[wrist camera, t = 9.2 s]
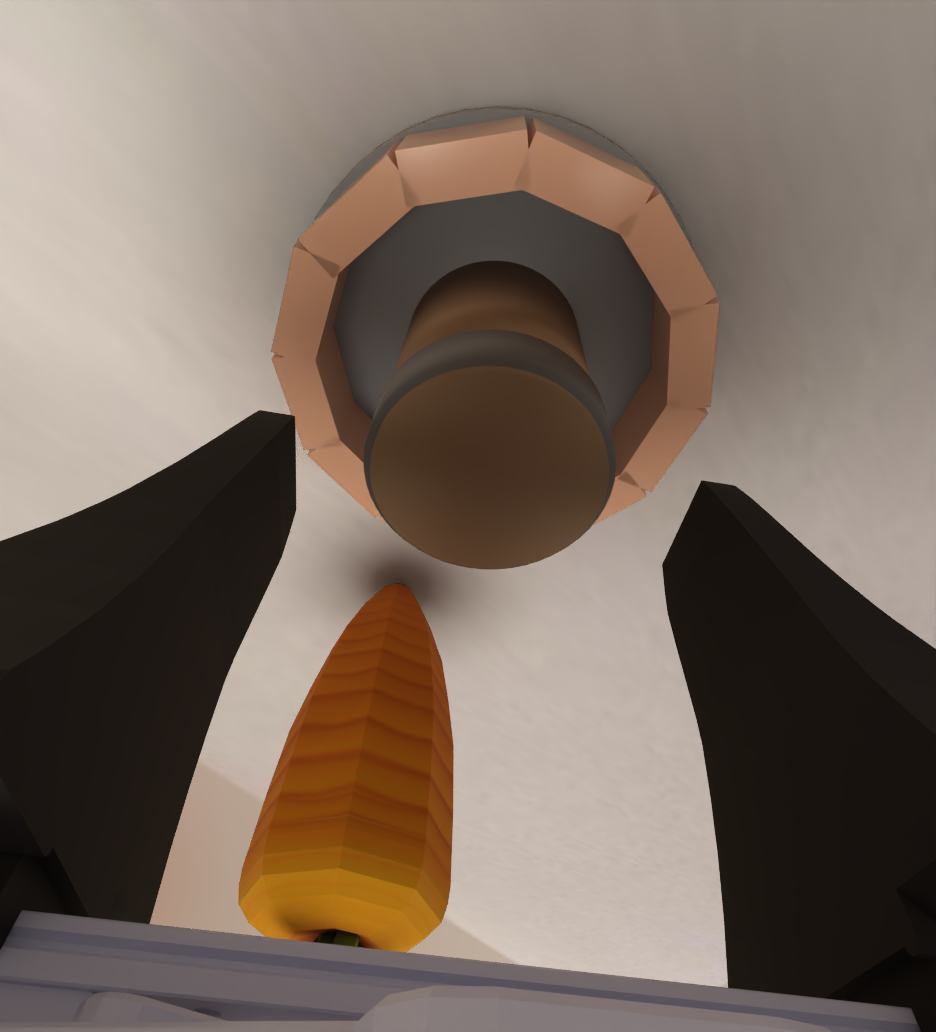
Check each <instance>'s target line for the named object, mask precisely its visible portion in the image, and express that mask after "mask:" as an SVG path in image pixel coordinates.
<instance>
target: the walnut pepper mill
mask: <svg viewBox="0 0 936 1032" xmlns="http://www.w3.org/2000/svg"><path fill="white" fill-rule="evenodd" d="M364 474H365V480H366V485H367V488H368V491H369V494H370V497H371V499H372V501H373V503H374V505H375V507H376V509H377V510H378V512H379V513H380V514H381V516H382V517H383V519H384V520H385V521H386V522H387V524H388V525H389V526H390V527H391V528H392V529H393V530H394V531H395V532H396V533H397V534H398V535H399V536H401V537H402V538H403V539H404V540H406V541H407V542H408V543H410V544H411V545H413V546H414V547H416V548H417V549H419V550H420V551H422V552H424V553H426V554H428V555H430V556H432V557H434V558H437V559H439V560H441V561H444V562H447V563H451V564H454V565H458V566H463V567H468V568H477V569H505V568H514V567H519V566H524V565H528V564H531V563H534V562H537V561H540V560H542V559H545V558H547V557H549V556H552V555H554V554H555V553H557V552H559V551H561V550H562V549H564V548H566V547H568V546H569V545H570V544H572V543H573V542H575V541H576V540H577V539H579V538H580V537H581V536H582V535H583V534H584V533H585V532H586V531H587V530H588V529H589V528H590V527H591V526H592V525H593V524H594V522H595V521H596V520H597V519H598V518H599V516H600V514H601V513H602V511H603V510H604V508H605V506H606V504H607V502H608V500H609V497H610V495H611V492H612V489H613V485H614V481H615V474H616V452H615V447H614V442H613V438H612V434H611V430H610V426H609V422H608V418H607V414H606V410H605V406H604V403H603V401H602V398H601V396H600V393H599V391H598V389H597V388H596V386H595V384H594V382H593V381H592V379H591V378H590V377H589V373H588V368H587V364H586V360H585V355H584V351H583V347H582V342H581V338H580V334H579V329H578V325H577V321H576V318H575V315H574V312H573V310H572V308H571V306H570V304H569V302H568V300H567V299H566V297H565V296H564V295H563V293H562V292H561V291H560V289H559V288H558V287H557V286H556V285H555V284H554V283H553V282H552V281H550V280H549V279H548V278H546V277H545V276H544V275H542V274H541V273H539V272H537V271H535V270H533V269H531V268H529V267H526V266H524V265H521V264H517V263H513V262H508V261H498V260H494V261H481V262H475V263H471V264H468V265H465V266H461V267H459V268H457V269H455V270H453V271H451V272H449V273H448V274H446V275H445V276H443V277H442V278H440V279H439V280H438V281H437V282H436V283H434V284H433V285H432V286H431V287H430V288H429V290H428V291H427V292H426V293H425V294H424V296H423V297H422V299H421V300H420V302H419V303H418V305H417V307H416V309H415V311H414V313H413V317H412V320H411V323H410V326H409V329H408V333H407V336H406V339H405V343H404V346H403V349H402V353H401V356H400V359H399V362H398V366H397V369H396V371H395V372H394V374H393V375H392V377H391V378H390V380H389V381H388V383H387V384H386V386H385V388H384V390H383V392H382V394H381V396H380V399H379V402H378V405H377V408H376V411H375V414H374V417H373V420H372V423H371V426H370V429H369V433H368V436H367V439H366V442H365V449H364Z"/></svg>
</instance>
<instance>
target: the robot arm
mask: <svg viewBox="0 0 936 1032" xmlns="http://www.w3.org/2000/svg"><path fill="white" fill-rule="evenodd" d="M295 512H296V447H295V416H292V415H286V414H280V413H273V412H267V411H261V410H259V411H257V412H256V413H254V414H252V415H251V416H249V417H247V418H246V419H244V420H243V421H241V422H239V423H238V424H236V425H235V426H233V427H232V428H230V429H229V430H227V431H226V432H224V433H223V434H221V435H219V436H218V437H216V438H215V439H213V440H212V441H210V442H208V443H207V444H205V445H204V446H202V447H200V448H199V449H197V450H196V451H194V452H192V453H191V454H189V455H188V456H186V457H184V458H183V459H181V460H179V461H178V462H176V463H174V464H172V465H171V466H169V467H167V468H165V469H163V470H162V471H160V472H158V473H156V474H154V475H152V476H151V477H149V478H147V479H145V480H143V481H142V482H140V483H138V484H136V485H134V486H133V487H131V488H129V489H127V490H125V491H123V492H121V493H119V494H117V495H115V496H113V497H111V498H108V499H106V500H104V501H102V502H100V503H98V504H95V505H93V506H91V507H88V508H86V509H84V510H82V511H79V512H77V513H75V514H72V515H70V516H68V517H65V518H63V519H60V520H58V521H55V522H53V523H50V524H47V525H44V526H41V527H39V528H36V529H33V530H30V531H28V532H25V533H22V534H19V535H16V536H14V537H11V538H8V539H5V540H2V541H0V1032H936V649H935V648H933V647H932V646H930V645H929V644H928V643H926V642H925V641H923V640H922V639H921V638H919V637H918V636H916V635H915V634H913V633H912V632H911V631H909V630H908V629H906V628H905V627H904V626H902V625H901V624H899V623H898V622H896V621H895V620H894V619H892V618H891V617H890V616H888V615H887V614H886V613H884V612H883V611H882V610H880V609H879V608H878V607H876V606H875V605H874V604H873V603H871V602H870V601H869V600H868V599H866V598H865V597H864V596H863V595H862V594H860V593H859V592H858V591H857V590H855V589H854V588H853V587H852V586H850V585H849V584H848V583H847V582H845V581H844V580H843V579H842V578H841V577H839V576H838V575H837V574H836V573H835V572H834V571H832V570H831V569H830V568H829V567H828V566H827V565H825V564H824V563H823V562H822V561H821V560H820V559H819V558H817V557H816V556H815V555H814V554H813V553H812V552H811V551H810V550H808V549H807V548H806V547H805V546H804V545H803V544H802V543H801V542H800V541H798V540H797V539H796V538H795V537H794V536H793V535H792V534H791V533H790V532H788V531H787V530H786V529H785V528H784V527H783V526H782V525H781V524H780V523H779V522H777V521H776V520H775V519H774V518H773V517H772V516H771V515H770V514H769V513H767V512H766V511H765V510H764V509H763V508H762V507H761V506H760V505H758V504H757V503H756V502H755V501H754V500H753V499H751V498H750V497H749V496H748V495H747V494H745V493H744V492H743V491H741V490H740V489H739V488H737V487H736V486H733V485H727V484H721V483H714V482H708V481H701V483H700V485H699V487H698V489H697V492H696V494H695V496H694V498H693V500H692V502H691V504H690V506H689V509H688V511H687V513H686V515H685V517H684V519H683V521H682V524H681V526H680V528H679V530H678V532H677V534H676V536H675V539H674V541H673V543H672V545H671V547H670V549H669V551H668V554H667V556H666V558H665V560H664V562H663V564H662V566H663V577H664V587H665V596H666V603H667V611H668V616H669V620H670V624H671V628H672V631H673V635H674V639H675V643H676V646H677V650H678V654H679V657H680V661H681V665H682V668H683V672H684V675H685V679H686V683H687V686H688V690H689V694H690V697H691V701H692V704H693V708H694V712H695V715H696V719H697V723H698V727H699V732H700V736H701V741H702V745H703V751H704V758H705V764H706V770H707V777H708V783H709V789H710V796H711V803H712V811H713V819H714V827H715V835H716V843H717V850H718V860H719V871H720V881H721V892H722V902H723V913H724V926H725V942H726V958H727V974H728V988H724V987H715V986H706V985H697V984H688V983H678V982H669V981H660V980H651V979H642V978H633V977H624V976H615V975H606V974H597V973H588V972H579V971H570V970H561V969H552V968H542V967H533V966H524V965H515V964H506V963H497V962H488V961H478V960H469V959H461V958H451V957H443V956H434V955H425V954H415V953H406V952H397V951H388V950H379V949H370V948H361V947H352V946H343V945H334V944H325V943H316V942H307V941H298V940H289V939H280V938H270V937H261V936H252V935H242V934H234V933H225V932H216V931H206V930H198V929H189V928H180V927H170V926H162V925H153V924H149V923H150V920H151V916H152V913H153V909H154V906H155V902H156V899H157V895H158V891H159V888H160V884H161V880H162V877H163V873H164V870H165V867H166V863H167V859H168V856H169V852H170V849H171V845H172V842H173V839H174V836H175V832H176V829H177V826H178V823H179V820H180V816H181V813H182V809H183V806H184V803H185V800H186V796H187V793H188V790H189V787H190V783H191V780H192V777H193V774H194V771H195V768H196V765H197V762H198V759H199V756H200V753H201V750H202V746H203V743H204V740H205V737H206V734H207V731H208V728H209V725H210V722H211V719H212V717H213V714H214V711H215V708H216V705H217V702H218V699H219V696H220V693H221V690H222V687H223V685H224V682H225V679H226V677H227V674H228V672H229V670H230V667H231V665H232V662H233V660H234V657H235V655H236V653H237V651H238V649H239V647H240V645H241V643H242V641H243V638H244V636H245V634H246V632H247V630H248V628H249V626H250V624H251V622H252V619H253V617H254V615H255V613H256V611H257V609H258V607H259V605H260V602H261V600H262V598H263V596H264V594H265V592H266V590H267V588H268V585H269V583H270V581H271V579H272V577H273V575H274V572H275V570H276V568H277V566H278V564H279V562H280V559H281V557H282V554H283V551H284V548H285V545H286V542H287V539H288V536H289V532H290V529H291V525H292V522H293V519H294V515H295Z"/></svg>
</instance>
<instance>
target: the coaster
mask: <svg viewBox="0 0 936 1032" xmlns="http://www.w3.org/2000/svg"><path fill="white" fill-rule="evenodd" d="M298 240H299V241H298V243H297V244H296V245H295V246H294V249H293V253H292V258H291V262H290V267H289V272H288V276H287V281H286V285H285V290H284V294H283V299H282V304H281V308H280V313H279V317H278V322H277V326H276V331H275V336H274V340H273V345H272V349H271V352H273V353H275V354H274V356H273V357H272V361H273V364H274V367H275V370H276V373H277V376H278V378H279V381H280V384H281V387H282V390H283V393H284V395H285V398H286V401H287V404H288V407H289V410H290V412H291V415H292V416H295V426H296V429H297V432H298V435H299V438H300V441H301V443H302V446H303V449H304V450H309V449H310V451H309V453H308V456H309V457H310V458H311V459H312V460H313V461H314V462H315V463H316V464H317V465H318V466H319V467H321V468H322V469H323V470H324V471H325V472H326V473H327V474H328V475H329V476H330V477H331V478H333V479H334V480H335V481H336V482H337V483H338V484H339V485H340V486H341V487H342V488H343V489H344V490H346V491H347V492H348V493H349V494H350V495H351V496H352V497H353V498H354V499H355V500H356V501H357V502H359V503H360V504H361V505H362V506H363V507H364V508H365V509H366V510H367V511H368V512H369V513H370V514H372V515H373V516H374V517H376V516H377V515H379V514H380V513H379V512H378V510H377V509H376V507H375V505H374V503H373V501H372V499H371V497H370V494H369V491H368V488H367V485H366V480H365V474H364V449H365V442H366V439H367V436H368V433H369V429H370V426H371V423H372V420H373V417H374V414H375V411H376V408H377V405H378V402H379V399H380V396H381V394H382V392H383V390H384V388H385V386H386V384H387V383H388V381H389V380H390V378H391V377H392V375H393V374H394V372H395V371H396V369H397V366H398V362H399V359H400V356H401V353H402V349H403V346H404V343H405V339H406V336H407V333H408V329H409V326H410V323H411V320H412V317H413V313H414V311H415V309H416V307H417V305H418V303H419V302H420V300H421V299H422V297H423V296H424V294H425V293H426V292H427V291H428V290H429V288H430V287H431V286H432V285H433V284H434V283H436V282H437V281H438V280H439V279H440V278H442V277H443V276H445V275H446V274H448V273H449V272H451V271H453V270H455V269H457V268H459V267H461V266H465V265H468V264H471V263H475V262H481V261H494V260H498V261H508V262H513V263H517V264H521V265H524V266H526V267H529V268H531V269H533V270H535V271H537V272H539V273H541V274H542V275H544V276H545V277H546V278H548V279H549V280H550V281H552V282H553V283H554V284H555V285H556V286H557V287H558V288H559V289H560V291H561V292H562V293H563V295H564V296H565V297H566V299H567V300H568V302H569V304H570V306H571V308H572V310H573V312H574V315H575V318H576V321H577V325H578V329H579V334H580V338H581V342H582V347H583V351H584V355H585V360H586V364H587V368H588V373H589V377H590V378H591V379H592V381H593V382H594V384H595V386H596V388H597V389H598V391H599V393H600V396H601V398H602V401H603V403H604V406H605V410H606V414H607V418H608V422H609V426H610V430H611V434H612V438H613V442H614V447H615V452H616V474H615V481H614V485H613V489H612V492H611V495H610V497H609V500H608V502H607V504H606V506H605V508H604V510H603V511H602V513H601V514H600V516H599V518H598V519H597V520H596V521H595V522H594V524H596V523H598V522H599V521H601V520H603V519H605V518H607V517H609V516H611V515H612V514H614V513H616V512H618V511H620V510H622V509H624V508H626V507H627V506H629V505H631V504H633V503H635V502H637V501H639V500H640V499H642V498H644V497H646V493H645V490H647V491H650V492H652V490H653V489H654V488H655V486H656V485H657V483H658V482H659V481H660V479H661V478H662V477H663V475H664V474H665V472H666V471H667V470H668V468H669V467H670V465H671V464H672V463H673V461H674V460H675V458H676V457H677V456H678V454H679V453H680V451H681V450H682V449H683V447H684V446H685V444H686V443H687V442H688V440H689V439H690V437H691V436H692V435H693V433H694V432H695V431H696V429H697V428H698V426H699V425H700V424H701V422H702V421H703V419H704V418H705V417H706V415H707V414H708V413H707V411H706V409H705V408H707V407H710V403H711V392H712V381H713V370H714V359H715V348H716V337H717V326H718V315H719V304H720V303H719V301H718V300H717V299H716V296H718V294H717V292H716V291H715V289H714V287H713V285H712V283H711V282H710V280H709V278H708V276H707V275H706V273H705V271H704V269H703V267H702V266H701V264H700V262H699V260H698V258H697V257H696V255H695V253H694V251H693V247H692V244H691V241H690V239H689V236H688V234H687V232H686V230H685V228H684V226H683V223H682V221H681V219H680V217H679V215H678V213H677V212H676V210H675V209H674V207H673V206H672V204H671V203H670V201H669V200H668V198H667V197H666V195H665V193H664V192H663V190H662V189H661V188H660V187H659V186H658V185H657V184H656V182H655V181H654V180H653V179H652V178H651V177H650V176H649V175H648V174H647V173H646V171H645V170H644V169H643V168H642V167H641V166H640V165H639V164H638V163H637V161H635V160H634V159H633V158H632V157H631V156H629V155H628V154H627V153H626V152H624V151H623V150H622V149H621V148H619V147H618V146H617V145H616V144H615V143H613V142H612V141H610V140H608V139H607V138H605V137H603V136H602V135H600V134H598V133H596V132H595V131H593V130H591V129H590V128H588V127H586V126H583V125H581V124H578V123H576V122H573V121H571V120H568V119H565V118H563V117H560V116H558V115H553V114H549V113H544V112H540V111H535V110H531V109H523V108H507V107H489V108H478V109H467V110H462V111H458V112H454V113H450V114H446V115H442V116H438V117H434V118H432V119H430V120H427V121H425V122H422V123H420V124H418V125H415V126H413V127H410V128H408V129H406V130H404V131H403V132H401V133H399V134H398V135H396V136H394V137H393V138H391V139H390V140H388V141H386V142H385V143H383V144H381V145H380V146H379V147H378V148H376V149H375V150H374V151H373V152H372V153H370V154H369V155H368V156H367V157H366V158H364V159H363V160H362V161H361V162H360V163H358V164H357V166H356V167H355V168H354V169H353V170H352V171H351V172H350V173H349V174H348V175H347V176H346V178H345V179H344V180H343V181H342V182H341V183H340V184H339V185H338V187H337V188H336V189H335V190H334V191H333V192H332V194H331V195H330V197H329V198H328V200H327V201H326V203H325V204H324V206H323V207H322V209H321V210H320V212H319V213H318V215H317V216H316V218H315V220H314V222H313V223H312V224H311V225H310V226H309V228H308V229H307V230H306V231H305V232H304V233H303V234H302V235H301V237H300V238H299V239H298ZM380 521H383V522H386V521H385V520H384V519H383V517H382V516H381V518H380ZM386 523H387V522H386ZM594 524H593V525H594Z"/></svg>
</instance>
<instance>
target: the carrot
mask: <svg viewBox="0 0 936 1032" xmlns="http://www.w3.org/2000/svg"><path fill="white" fill-rule="evenodd" d="M452 827H453V738H452V730H451V721H450V712H449V703H448V696H447V690H446V684H445V678H444V672H443V666H442V661H441V658H440V655H439V652H438V649H437V646H436V643H435V640H434V637H433V635H432V632H431V629H430V627H429V625H428V622H427V620H426V618H425V616H424V614H423V612H422V610H421V608H420V606H419V604H418V602H417V600H416V598H415V597H414V595H413V593H412V591H411V589H410V588H408V587H406V586H404V585H401V584H394V585H389V586H385V587H384V588H383V589H382V590H381V591H379V592H378V593H377V594H376V595H375V596H373V597H372V598H371V599H370V600H369V601H368V602H366V603H365V605H364V606H363V607H362V608H361V609H360V611H359V612H358V613H357V614H356V616H355V617H354V618H353V619H352V620H351V622H350V623H349V624H348V625H347V627H346V628H345V630H344V632H343V633H342V635H341V636H340V638H339V639H338V641H337V642H336V644H335V646H334V647H333V649H332V650H331V652H330V654H329V656H328V658H327V659H326V661H325V663H324V665H323V667H322V668H321V670H320V672H319V674H318V676H317V678H316V679H315V681H314V683H313V685H312V687H311V689H310V691H309V693H308V695H307V697H306V699H305V701H304V703H303V705H302V707H301V709H300V711H299V713H298V715H297V717H296V719H295V721H294V723H293V725H292V727H291V729H290V731H289V734H288V737H287V740H286V742H285V745H284V748H283V751H282V753H281V756H280V759H279V762H278V765H277V767H276V770H275V773H274V776H273V778H272V781H271V784H270V787H269V789H268V792H267V795H266V798H265V801H264V804H263V807H262V810H261V813H260V816H259V819H258V822H257V825H256V828H255V832H254V834H253V837H252V840H251V844H250V847H249V850H248V853H247V856H246V859H245V862H244V865H243V868H242V873H241V878H240V882H239V906H240V908H241V909H242V911H243V913H244V915H245V917H246V918H247V920H248V922H249V923H250V924H251V925H252V926H253V927H255V928H256V929H257V930H258V931H259V932H261V933H262V934H263V935H264V936H265V937H270V938H280V939H289V940H298V941H307V942H316V943H325V944H334V945H343V946H352V947H361V948H370V949H379V950H388V951H397V952H407V951H408V950H410V949H411V948H413V947H414V946H415V945H417V944H418V943H420V942H421V941H422V940H424V939H425V938H426V937H427V936H428V935H429V934H430V933H431V932H432V931H433V930H434V929H435V928H436V927H437V926H438V925H439V924H440V923H441V922H442V919H443V916H444V914H445V911H446V908H447V905H448V899H449V892H450V883H451V855H452Z"/></svg>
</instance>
